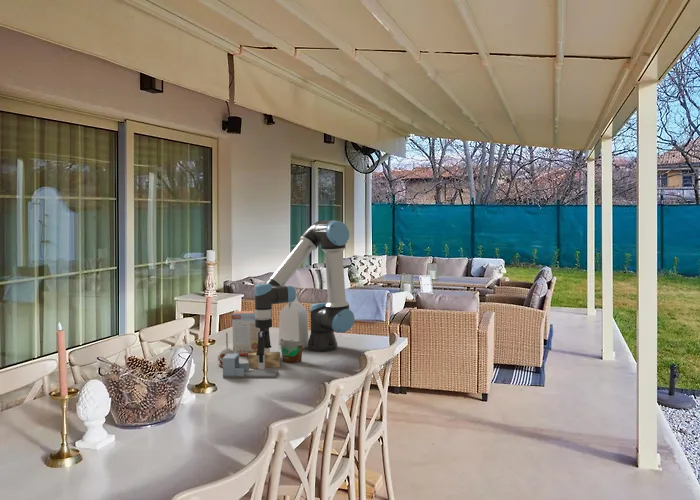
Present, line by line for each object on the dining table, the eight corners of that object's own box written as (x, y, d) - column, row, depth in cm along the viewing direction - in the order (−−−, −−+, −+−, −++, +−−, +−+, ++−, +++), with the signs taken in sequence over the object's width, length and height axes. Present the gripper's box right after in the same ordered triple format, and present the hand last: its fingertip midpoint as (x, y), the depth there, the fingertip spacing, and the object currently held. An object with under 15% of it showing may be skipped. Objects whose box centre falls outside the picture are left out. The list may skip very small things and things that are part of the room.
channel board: (278, 371, 265) (278, 352, 264) (274, 378, 254) (274, 359, 253) (228, 371, 266) (228, 352, 265) (222, 378, 255) (221, 359, 254)
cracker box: (264, 353, 300) (263, 310, 299) (261, 355, 294) (260, 312, 293) (236, 352, 302) (235, 310, 300) (232, 355, 296) (231, 312, 294)
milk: (288, 343, 321) (287, 294, 319) (308, 345, 317) (308, 295, 315) (278, 348, 310) (277, 297, 308) (299, 350, 306) (298, 298, 304)
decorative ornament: (217, 368, 272) (216, 334, 271) (220, 363, 280) (219, 331, 279) (235, 367, 273) (234, 334, 272) (237, 363, 281) (236, 331, 280)
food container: (274, 362, 282) (273, 340, 282) (281, 359, 288) (281, 338, 287) (296, 364, 277) (296, 343, 276) (304, 361, 282) (303, 340, 281)
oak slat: (280, 365, 277) (280, 352, 277) (280, 367, 273) (279, 354, 273) (249, 366, 276) (248, 353, 276) (248, 368, 272) (248, 355, 272)
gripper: (260, 313, 286) (261, 359, 287) (249, 323, 261) (250, 372, 263) (276, 313, 285) (276, 359, 287) (267, 323, 261) (267, 373, 262)
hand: (264, 365), depth 275 cm, fingers open, 12 cm apart
